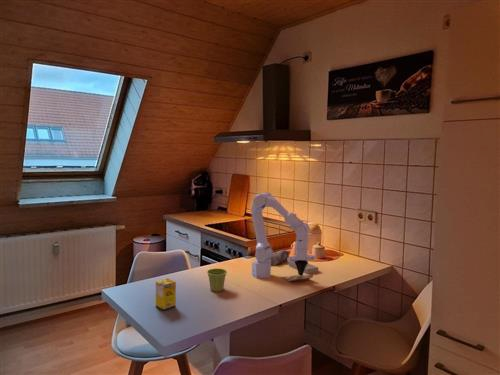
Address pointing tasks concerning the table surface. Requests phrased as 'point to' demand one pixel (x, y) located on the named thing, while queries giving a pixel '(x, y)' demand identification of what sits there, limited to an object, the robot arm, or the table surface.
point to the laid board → (289, 277)
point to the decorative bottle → (279, 257)
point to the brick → (308, 269)
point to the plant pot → (216, 279)
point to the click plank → (299, 278)
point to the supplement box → (165, 294)
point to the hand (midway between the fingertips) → (300, 274)
